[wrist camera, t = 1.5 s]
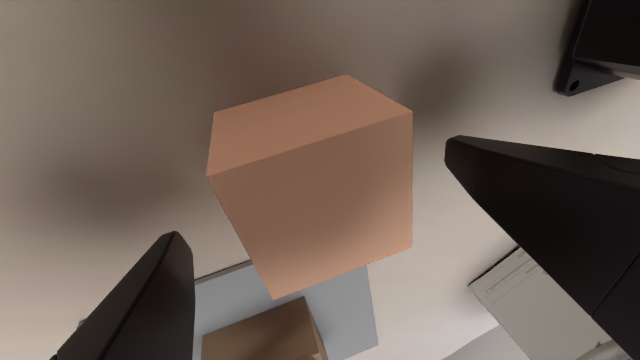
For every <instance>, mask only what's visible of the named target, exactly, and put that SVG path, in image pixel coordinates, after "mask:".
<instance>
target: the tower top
mask: <svg viewBox="0 0 640 360" xmlns="http://www.w3.org/2000/svg"><path fill="white" fill-rule="evenodd" d="M295 360H316V359H315V358H314V357H313V356H312V355H311V354H310V353H307V354H305V355H303V356H301V357H299V358H297V359H295Z"/></svg>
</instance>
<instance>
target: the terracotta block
mask: <svg viewBox="0 0 640 360" xmlns="http://www.w3.org/2000/svg"><path fill="white" fill-rule="evenodd" d="M412 141H413V111H412V110H410V109H408V108H406V107H404V106H403V105H401V104H399V103H397V102H396V101H394V100H392V99H390V98H389V97H387V96H385V95H383V94H382V93H380V92H378V91H376V90H375V89H373V88H371V87H369V86H367V85H366V84H364V83H362V82H360V81H359V80H357V79H355V78H353V77H352V76H350V75H348V74H345V75H342V76H338V77H335V78H331V79H328V80H324V81H321V82H317V83H314V84H310V85H307V86H303V87H300V88H297V89H293V90H290V91H286V92H283V93H279V94H276V95H272V96H269V97H265V98H262V99H258V100H255V101H252V102H248V103H245V104H241V105H238V106H234V107H231V108H227V109H224V110H220V111H217V112H214V115H213V123H212V131H211V139H210V147H209V155H208V163H207V171H206V178H207V180H208V181H209V183H210V185H211V187H212V189H213V191H214V192H215V194H216V196H217V198H218V200H219V202H220V204H221V205H222V207H223V209H224V211H225V213H226V215H227V216H228V218H229V220H230V222H231V224H232V226H233V227H234V229H235V231H236V233H237V235H238V237H239V238H240V240H241V242H242V244H243V246H244V248H245V249H246V251H247V253H248V255H249V257H250V259H251V261H252V262H253V264H254V266H255V268H256V270H257V272H258V273H259V275H260V277H261V279H262V281H263V283H264V284H265V286H266V288H267V290H268V292H269V294H270V295H271V297H272V299H273V300H275V299H277V298H280V297H283V296H285V295H288V294H290V293H293V292H296V291H298V290H301V289H303V288H306V287H309V286H311V285H314V284H316V283H319V282H322V281H324V280H327V279H330V278H332V277H335V276H337V275H340V274H343V273H345V272H348V271H350V270H353V269H356V268H358V267H361V266H363V265H366V264H369V263H371V262H374V261H377V260H379V259H382V258H384V257H387V256H390V255H392V254H395V253H397V252H400V251H403V250H405V249H408V248H410V247H412Z"/></svg>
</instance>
